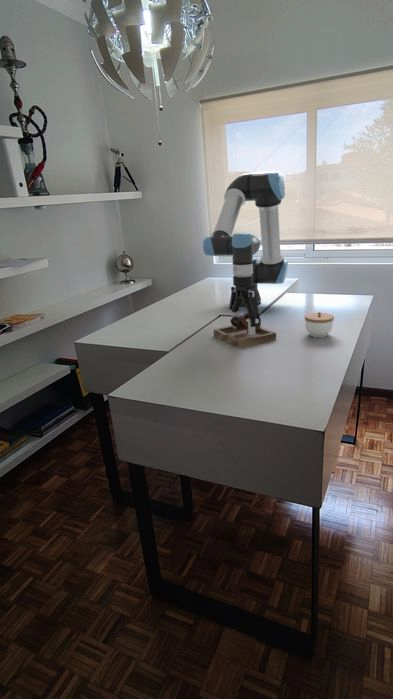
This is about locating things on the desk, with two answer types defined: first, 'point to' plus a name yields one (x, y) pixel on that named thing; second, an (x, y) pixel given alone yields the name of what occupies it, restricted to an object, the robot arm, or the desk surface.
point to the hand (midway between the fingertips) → (244, 330)
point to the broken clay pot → (244, 321)
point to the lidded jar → (319, 324)
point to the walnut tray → (244, 336)
